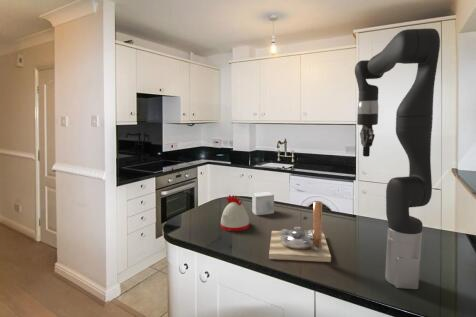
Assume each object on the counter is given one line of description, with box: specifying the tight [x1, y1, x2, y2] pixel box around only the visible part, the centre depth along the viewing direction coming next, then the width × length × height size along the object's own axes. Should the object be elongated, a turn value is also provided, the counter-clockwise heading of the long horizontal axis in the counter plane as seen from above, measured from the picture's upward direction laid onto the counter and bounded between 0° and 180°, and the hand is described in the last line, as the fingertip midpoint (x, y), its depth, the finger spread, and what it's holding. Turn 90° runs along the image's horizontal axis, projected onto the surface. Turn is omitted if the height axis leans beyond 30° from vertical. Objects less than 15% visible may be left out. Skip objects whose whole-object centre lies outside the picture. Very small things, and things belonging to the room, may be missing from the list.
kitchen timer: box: [220, 194, 251, 232], centre depth 144 cm, size 14×14×15 cm
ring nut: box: [280, 200, 323, 251], centre depth 116 cm, size 20×14×20 cm
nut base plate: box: [268, 230, 332, 263], centre depth 120 cm, size 22×22×2 cm
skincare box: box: [251, 191, 275, 216], centre depth 162 cm, size 10×6×10 cm, turn 106°
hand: (366, 156), depth 122 cm, fingers closed
